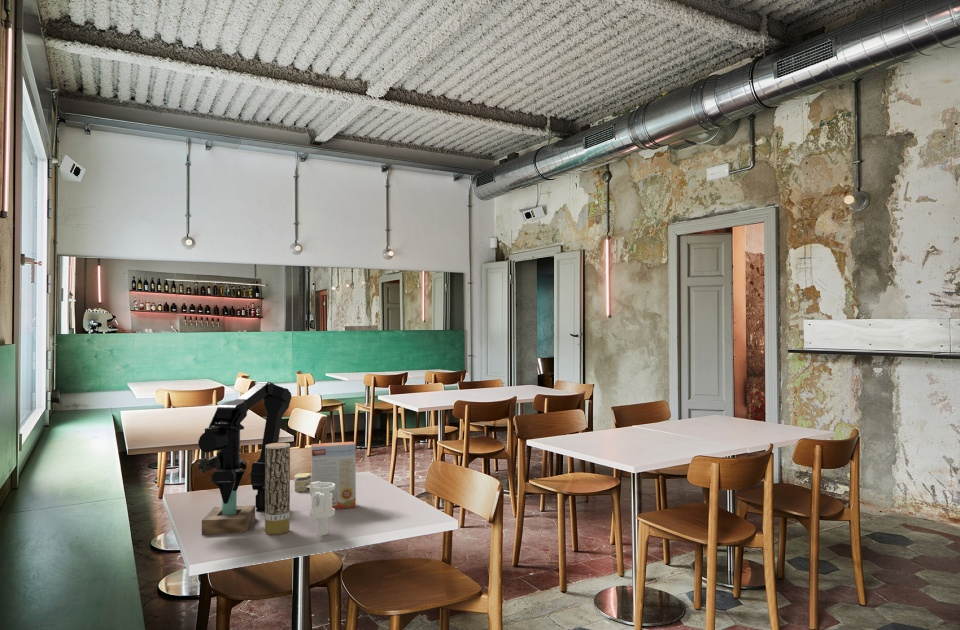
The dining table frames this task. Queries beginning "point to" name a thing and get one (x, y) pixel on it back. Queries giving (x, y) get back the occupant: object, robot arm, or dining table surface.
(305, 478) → the stacked layers on plate
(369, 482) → the dining table surface
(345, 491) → the cracker box
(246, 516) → the socket block
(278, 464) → the paper tube
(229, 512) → the peg
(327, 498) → the white plastic upright piece
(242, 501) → the dining table surface
